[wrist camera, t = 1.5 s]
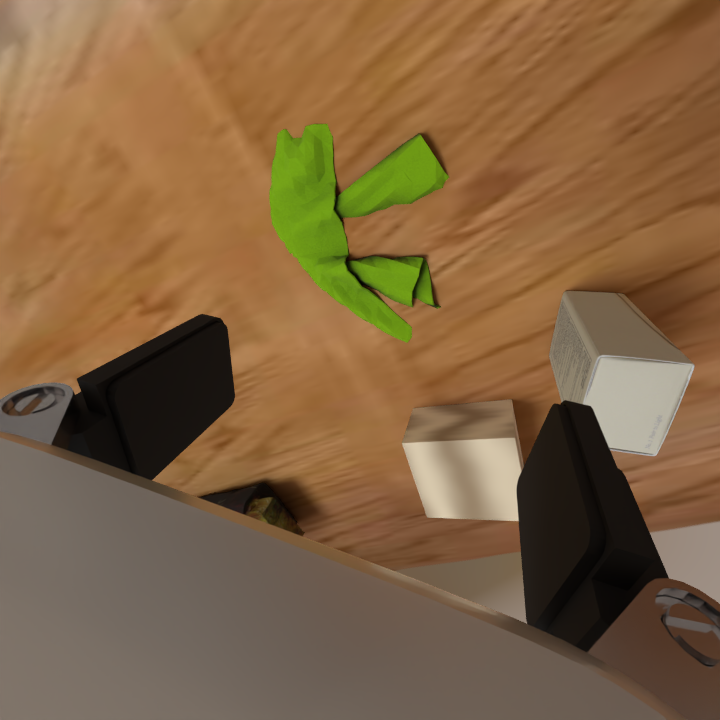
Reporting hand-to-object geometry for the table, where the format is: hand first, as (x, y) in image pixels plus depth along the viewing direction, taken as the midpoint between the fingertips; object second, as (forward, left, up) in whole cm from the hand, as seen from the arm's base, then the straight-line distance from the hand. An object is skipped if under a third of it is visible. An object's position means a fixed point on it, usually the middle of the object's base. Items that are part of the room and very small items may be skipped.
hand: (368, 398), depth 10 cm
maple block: (+2, +21, -24) cm, 32 cm away
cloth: (+6, -2, -24) cm, 25 cm away
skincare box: (-9, +9, -24) cm, 27 cm away
